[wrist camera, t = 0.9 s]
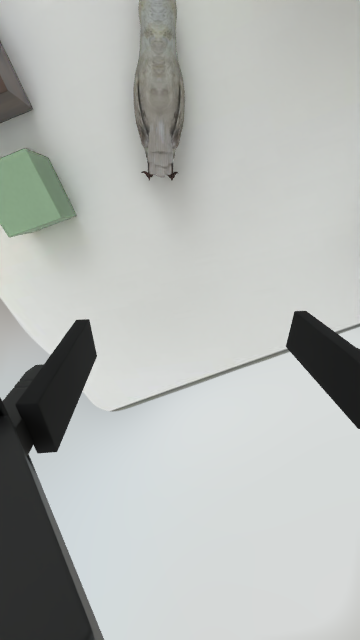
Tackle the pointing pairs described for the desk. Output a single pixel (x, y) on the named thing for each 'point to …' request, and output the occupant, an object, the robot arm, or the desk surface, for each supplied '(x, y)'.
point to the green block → (30, 194)
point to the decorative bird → (158, 86)
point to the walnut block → (10, 90)
